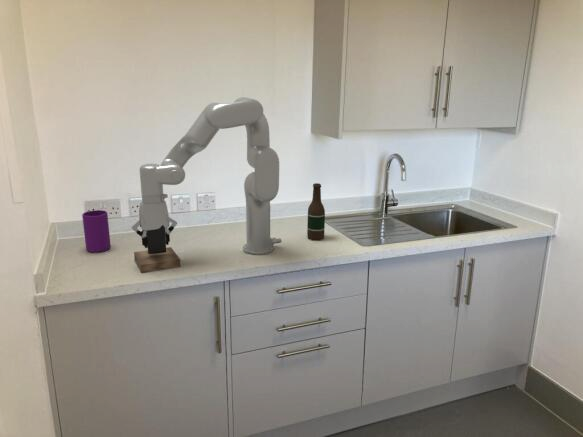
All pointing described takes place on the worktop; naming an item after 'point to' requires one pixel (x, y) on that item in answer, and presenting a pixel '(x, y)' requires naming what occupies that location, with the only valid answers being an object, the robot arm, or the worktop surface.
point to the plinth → (156, 260)
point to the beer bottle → (316, 216)
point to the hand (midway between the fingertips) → (156, 245)
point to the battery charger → (156, 240)
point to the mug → (96, 231)
